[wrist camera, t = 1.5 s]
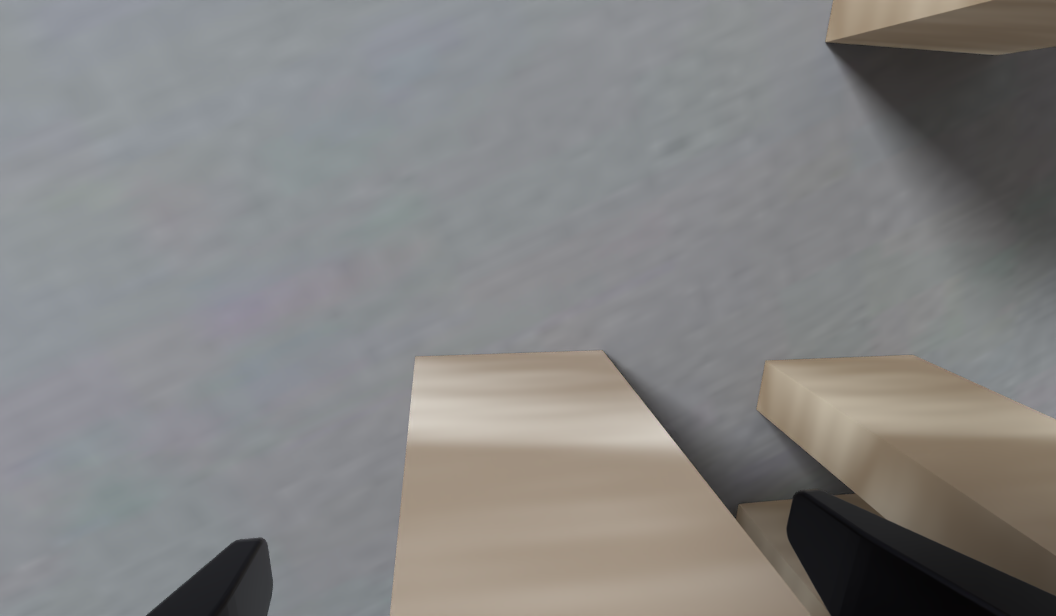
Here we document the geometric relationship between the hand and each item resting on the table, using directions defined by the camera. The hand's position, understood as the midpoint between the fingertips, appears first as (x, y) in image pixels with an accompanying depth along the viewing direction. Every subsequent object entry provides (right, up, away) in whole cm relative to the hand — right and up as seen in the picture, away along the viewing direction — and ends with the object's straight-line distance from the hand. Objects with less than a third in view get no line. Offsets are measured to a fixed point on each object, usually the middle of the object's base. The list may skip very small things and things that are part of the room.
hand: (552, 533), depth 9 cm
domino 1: (-1, +2, +5) cm, 6 cm away
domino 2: (+9, +1, +7) cm, 12 cm away
